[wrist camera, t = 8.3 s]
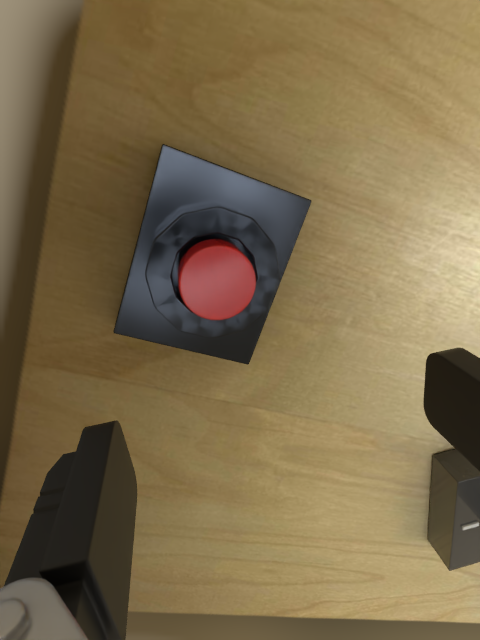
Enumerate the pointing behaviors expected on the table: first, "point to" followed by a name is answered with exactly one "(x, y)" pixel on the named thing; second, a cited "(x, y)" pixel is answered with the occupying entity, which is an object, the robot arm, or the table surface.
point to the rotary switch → (455, 510)
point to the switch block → (198, 225)
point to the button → (216, 279)
